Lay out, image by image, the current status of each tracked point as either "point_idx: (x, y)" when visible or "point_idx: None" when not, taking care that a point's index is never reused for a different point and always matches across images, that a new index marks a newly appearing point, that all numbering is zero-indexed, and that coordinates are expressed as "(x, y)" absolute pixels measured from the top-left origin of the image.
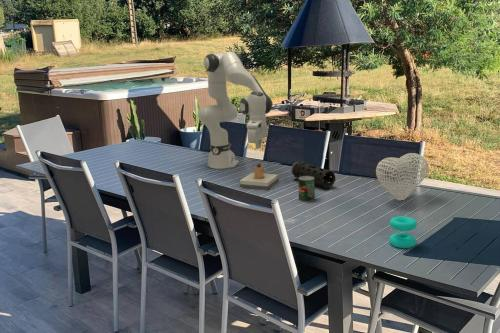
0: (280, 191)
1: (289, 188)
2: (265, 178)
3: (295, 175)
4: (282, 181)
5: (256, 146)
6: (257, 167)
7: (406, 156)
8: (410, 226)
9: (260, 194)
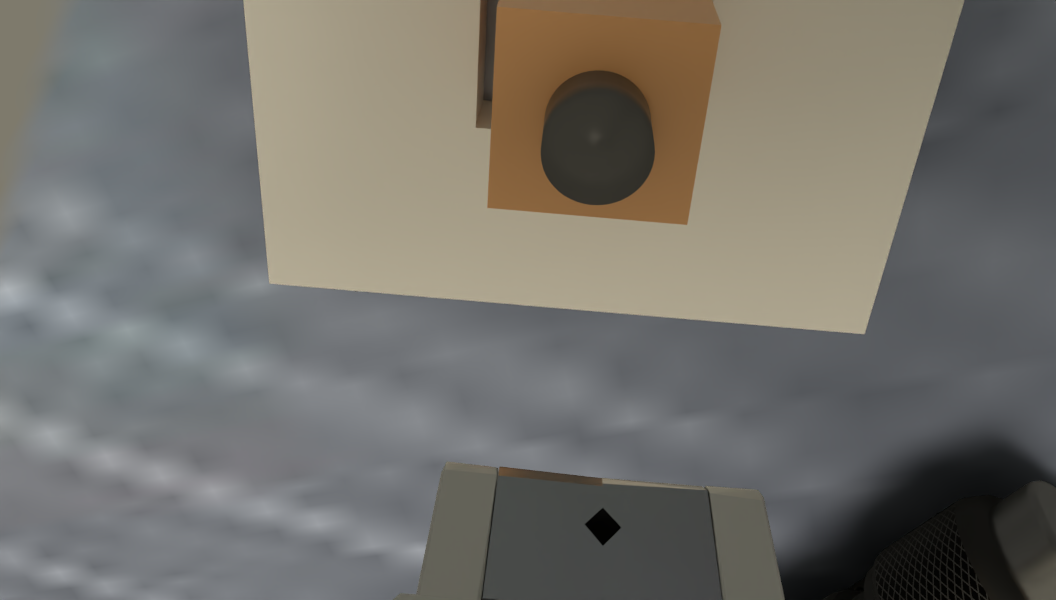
0: (304, 395)
1: None
2: None
3: (904, 545)
4: None
5: (424, 557)
6: (516, 98)
7: None
8: None
9: (39, 172)
